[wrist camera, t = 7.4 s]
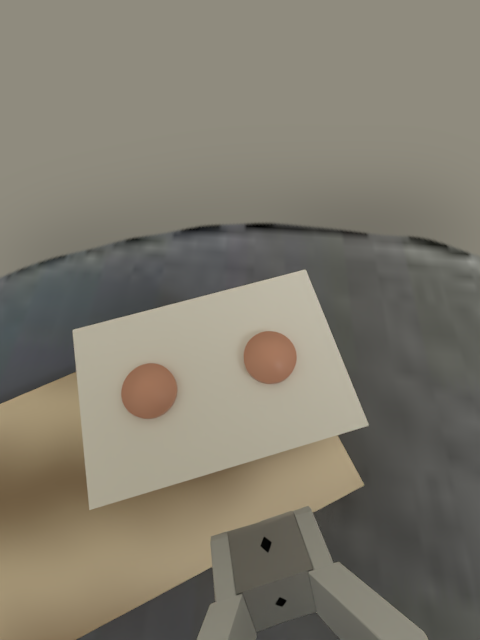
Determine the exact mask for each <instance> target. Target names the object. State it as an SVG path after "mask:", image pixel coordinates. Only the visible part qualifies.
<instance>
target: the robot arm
mask: <svg viewBox="0 0 480 640" xmlns="http://www.w3.org/2000/svg"><path fill="white" fill-rule="evenodd" d="M210 546H211V557H212V569H213V580H214V591H215V602H214V603H212V604H210V606H209V608H208V611H207V614H206V616H205V619H204V621H203V624H202V627H201V629H200V632H199V634H198V637H197V640H256V637H257V634H256V632H259V631H262V630H264V629H267V628H270V627H272V626H275V625H278V624H280V623H283V622H286V621H289V620H292V619H295V618H299V617H302V616H305V615H309V614H312V613H315V612H317V614H318V615H319V616H320V618H321V619H322V620H323V621H324V622H325V623H326V624H327V625H328V626H329V628H330V629H331V630H332V631H333V632H334V633H335V634H336V635H337V636H338V638H339V639H340V640H428V638H427V636H426V634H425V632H423V631H422V630H421V629H420V628H419V627H417V626H416V625H415V624H414V623H413V622H411V621H410V620H409V619H408V618H407V617H405V616H404V615H403V614H402V613H400V612H399V611H398V610H397V609H396V608H394V607H393V606H392V605H391V604H390V603H388V602H387V601H386V600H385V599H383V598H382V597H381V596H380V595H379V594H377V593H376V592H375V591H374V590H373V589H371V588H370V587H369V586H368V585H366V584H365V583H364V582H363V581H362V580H360V579H359V578H358V577H357V576H356V575H354V574H353V573H352V572H351V571H349V570H348V569H347V568H346V567H345V566H343V565H342V564H341V563H340V562H336V563H333V560H332V558H331V555H330V553H329V551H328V548H327V546H326V543H325V541H324V538H323V536H322V534H321V531H320V529H319V526H318V524H317V522H316V519H315V517H314V514H313V512H312V509H311V508H310V507H309V506H306V507H303V508H300V509H297V510H294V511H293V512H292V511H289V512H286V513H283V514H280V515H277V516H274V517H271V518H268V519H265V520H262V521H261V522H257V523H254V524H251V525H247V526H244V527H241V528H237V529H234V530H231V531H227V532H223V533H220V534H217V535H214V536H211V541H210Z"/></svg>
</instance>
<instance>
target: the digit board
mask: <svg viewBox="0 0 480 640" xmlns="http://www.w3.org/2000/svg"><path fill="white" fill-rule="evenodd" d="M362 486H364V483H363V481H362V480H361V478H360V476H359V474H358V472H357V470H356V468H355V467H354V465H353V463H352V461H351V459H350V457H349V455H348V454H347V452H346V450H345V448H344V446H343V444H342V442H341V441H340V439H339V437H338V435H336V436H333V437H330V438H326V439H323V440H320V441H317V442H313V443H310V444H307V445H303V446H300V447H297V448H293V449H290V450H287V451H283V452H280V453H277V454H274V455H270V456H267V457H264V458H260V459H257V460H254V461H250V462H247V463H244V464H240V465H237V466H234V467H231V468H227V469H224V470H221V471H217V472H214V473H211V474H207V475H204V476H201V477H197V478H194V479H191V480H188V481H184V482H181V483H178V484H174V485H171V486H168V487H164V488H161V489H158V490H154V491H151V492H148V493H145V494H141V495H138V496H135V497H131V498H128V499H125V500H121V501H118V502H115V503H111V504H108V505H105V506H102V507H98V508H95V509H92V510H89V501H88V491H87V480H86V469H85V459H84V448H83V437H82V427H81V416H80V405H79V395H78V384H77V373H76V372H74V373H72V374H70V375H67V376H65V377H63V378H60V379H58V380H55V381H53V382H51V383H48V384H46V385H44V386H41V387H39V388H37V389H34V390H32V391H30V392H27V393H25V394H23V395H20V396H18V397H15V398H13V399H11V400H8V401H6V402H4V403H1V404H0V640H76V639H78V638H80V637H82V636H84V635H86V634H87V633H89V632H91V631H93V630H95V629H97V628H99V627H100V626H102V625H104V624H106V623H108V622H110V621H112V620H114V619H115V618H117V617H119V616H121V615H123V614H125V613H127V612H129V611H130V610H132V609H134V608H136V607H138V606H140V605H142V604H143V603H145V602H147V601H149V600H151V599H153V598H155V597H157V596H158V595H160V594H162V593H164V592H166V591H168V590H170V589H171V588H173V587H175V586H177V585H179V584H181V583H183V582H185V581H186V580H188V579H190V578H192V577H194V576H196V575H198V574H200V573H201V572H203V571H205V570H207V569H209V568H211V567H212V557H211V546H210V541H211V536H214V535H217V534H220V533H223V532H227V531H231V530H234V529H237V528H241V527H244V526H247V525H251V524H254V523H257V522H261V521H262V520H265V519H268V518H271V517H274V516H277V515H280V514H283V513H286V512H289V511H292V512H293V511H294V510H297V509H300V508H303V507H306V506H309V507H310V508H311V509H312V512H315V511H317V510H319V509H321V508H323V507H325V506H327V505H328V504H330V503H332V502H334V501H336V500H338V499H340V498H342V497H343V496H345V495H347V494H349V493H351V492H353V491H355V490H356V489H358V488H360V487H362Z"/></svg>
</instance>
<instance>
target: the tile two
mask: <svg viewBox="0 0 480 640" xmlns="http://www.w3.org/2000/svg"><path fill="white" fill-rule="evenodd" d="M72 331H73V341H74V352H75V363H76V373H77V384H78V395H79V405H80V416H81V427H82V437H83V448H84V459H85V469H86V480H87V491H88V501H89V510H92V509H95V508H98V507H102V506H105V505H108V504H111V503H115V502H118V501H121V500H125V499H128V498H131V497H135V496H138V495H141V494H145V493H148V492H151V491H154V490H158V489H161V488H164V487H168V486H171V485H174V484H178V483H181V482H184V481H188V480H191V479H194V478H197V477H201V476H204V475H207V474H211V473H214V472H217V471H221V470H224V469H227V468H231V467H234V466H237V465H240V464H244V463H247V462H250V461H254V460H257V459H260V458H264V457H267V456H270V455H274V454H277V453H280V452H283V451H287V450H290V449H293V448H297V447H300V446H303V445H307V444H310V443H313V442H317V441H320V440H323V439H326V438H330V437H333V436H336V435H340V434H343V433H346V432H350V431H353V430H356V429H360V428H363V427H366V426H369V424H368V422H367V419H366V417H365V414H364V412H363V409H362V407H361V405H360V402H359V400H358V397H357V395H356V392H355V390H354V387H353V385H352V382H351V380H350V377H349V375H348V373H347V370H346V368H345V365H344V363H343V360H342V358H341V355H340V353H339V350H338V348H337V345H336V343H335V341H334V338H333V336H332V333H331V331H330V328H329V326H328V323H327V321H326V318H325V316H324V313H323V311H322V309H321V306H320V304H319V301H318V299H317V296H316V294H315V291H314V289H313V286H312V284H311V281H310V279H309V277H308V274H307V272H306V269H305V270H302V271H298V272H294V273H290V274H286V275H282V276H278V277H275V278H271V279H267V280H263V281H259V282H255V283H251V284H248V285H244V286H240V287H236V288H232V289H228V290H224V291H221V292H217V293H213V294H209V295H205V296H201V297H197V298H194V299H190V300H186V301H182V302H178V303H174V304H170V305H167V306H163V307H159V308H155V309H151V310H147V311H143V312H140V313H136V314H132V315H128V316H124V317H120V318H116V319H113V320H109V321H105V322H101V323H97V324H93V325H89V326H86V327H82V328H78V329H74V330H72Z"/></svg>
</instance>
